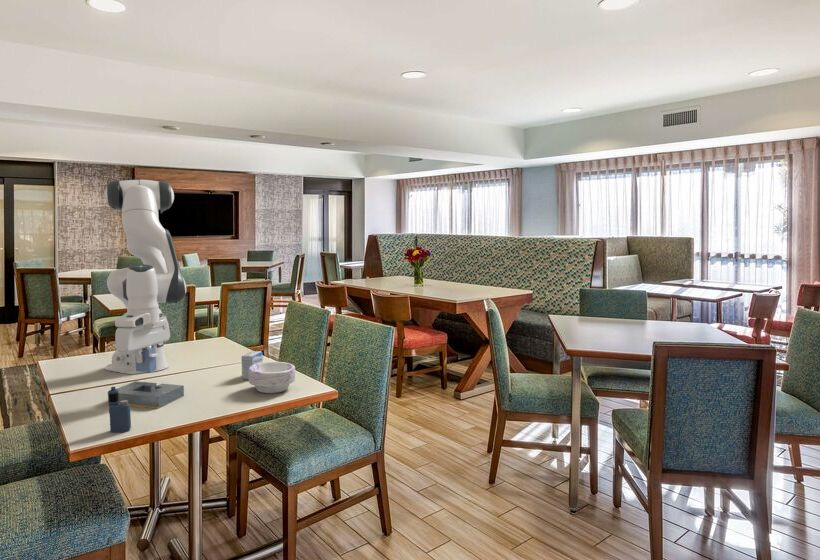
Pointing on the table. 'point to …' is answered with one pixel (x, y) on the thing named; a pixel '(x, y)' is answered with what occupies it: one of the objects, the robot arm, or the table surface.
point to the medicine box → (250, 362)
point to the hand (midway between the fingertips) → (145, 360)
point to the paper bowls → (271, 376)
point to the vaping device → (118, 412)
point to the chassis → (149, 394)
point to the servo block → (147, 360)
